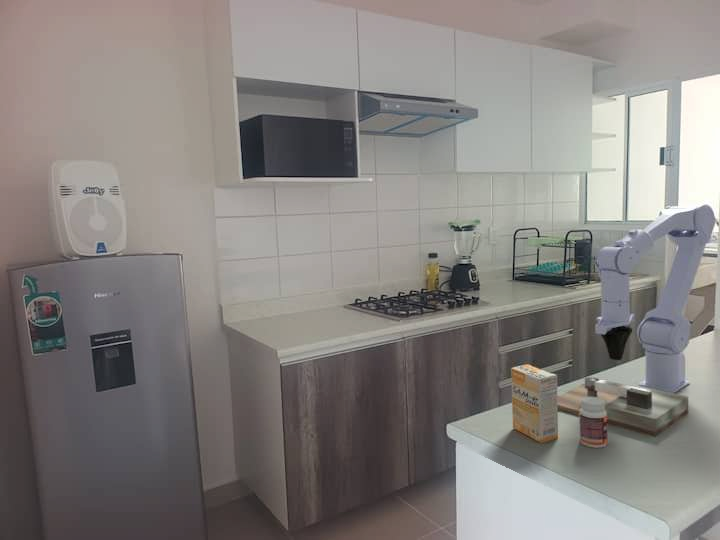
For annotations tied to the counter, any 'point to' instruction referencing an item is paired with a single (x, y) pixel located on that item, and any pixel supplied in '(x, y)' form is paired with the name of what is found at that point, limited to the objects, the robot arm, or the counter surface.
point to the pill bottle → (593, 422)
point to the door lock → (632, 408)
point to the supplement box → (534, 402)
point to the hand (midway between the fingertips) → (615, 359)
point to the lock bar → (608, 387)
